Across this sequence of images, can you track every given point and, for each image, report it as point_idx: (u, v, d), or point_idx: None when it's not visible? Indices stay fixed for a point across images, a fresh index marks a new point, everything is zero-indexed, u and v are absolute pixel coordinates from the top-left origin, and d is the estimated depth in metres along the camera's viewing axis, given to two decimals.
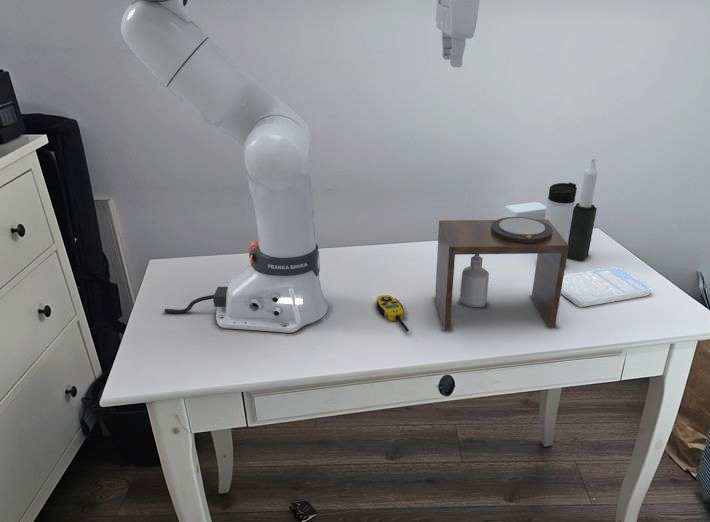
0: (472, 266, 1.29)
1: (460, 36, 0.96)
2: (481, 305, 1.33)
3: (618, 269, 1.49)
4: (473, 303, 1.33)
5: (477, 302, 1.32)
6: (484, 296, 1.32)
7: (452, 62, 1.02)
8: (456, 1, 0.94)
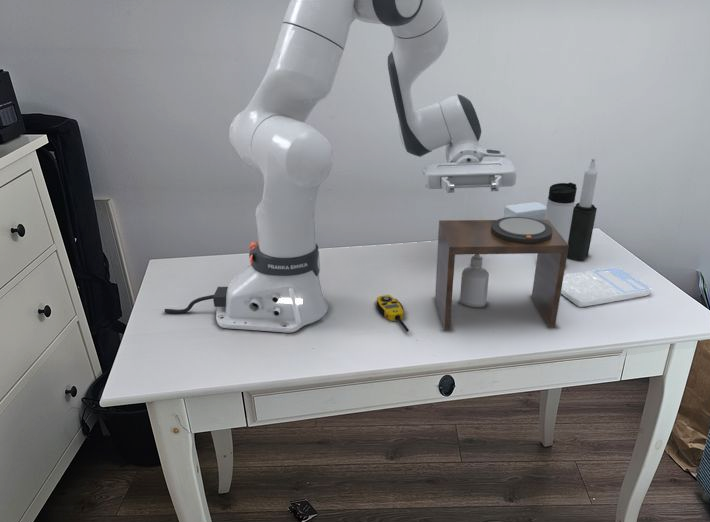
0: (472, 266, 1.29)
1: (514, 177, 1.36)
2: (481, 305, 1.33)
3: (618, 269, 1.49)
4: (473, 303, 1.33)
5: (477, 302, 1.32)
6: (484, 296, 1.32)
7: (498, 183, 1.32)
8: None
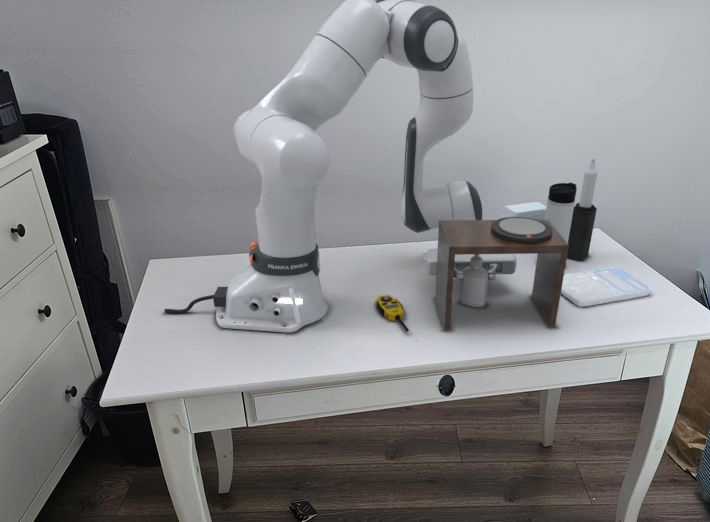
0: (472, 266, 1.29)
1: (515, 265, 1.35)
2: (481, 305, 1.33)
3: (618, 269, 1.49)
4: (473, 303, 1.33)
5: (477, 302, 1.32)
6: (484, 296, 1.32)
7: (495, 272, 1.31)
8: None
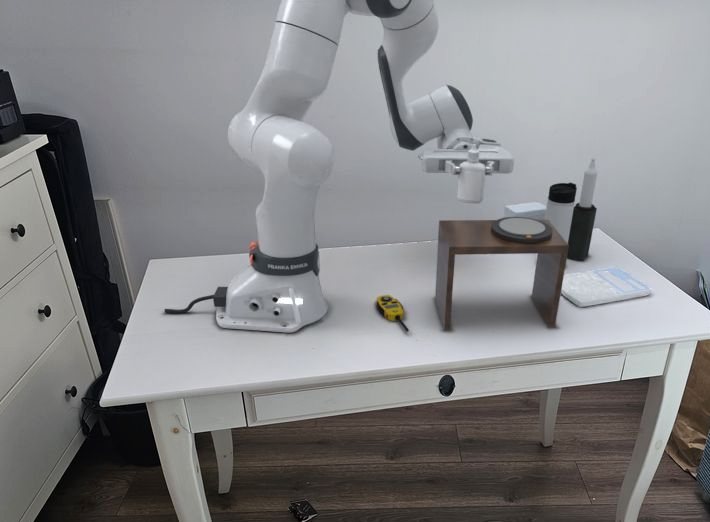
0: (469, 159, 1.29)
1: (512, 163, 1.35)
2: (478, 201, 1.32)
3: (618, 269, 1.49)
4: (470, 199, 1.32)
5: (474, 198, 1.32)
6: (481, 192, 1.31)
7: (492, 167, 1.31)
8: None
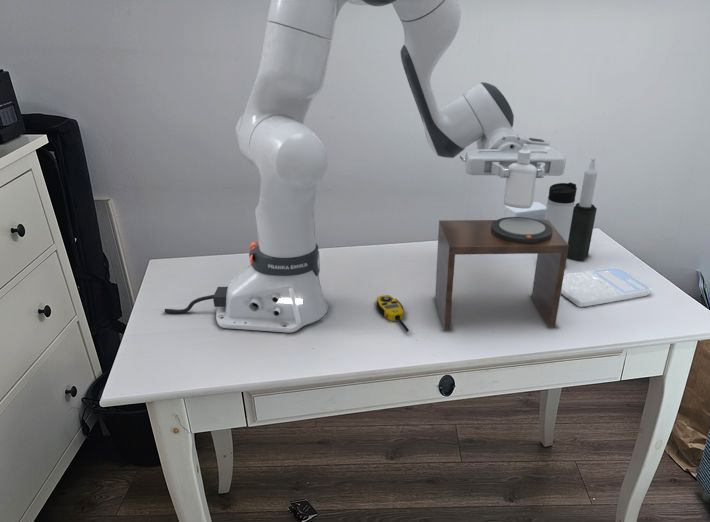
0: (519, 160, 1.18)
1: (564, 165, 1.24)
2: (528, 206, 1.22)
3: (618, 269, 1.49)
4: (519, 204, 1.22)
5: (523, 203, 1.21)
6: (531, 196, 1.21)
7: (543, 169, 1.20)
8: None
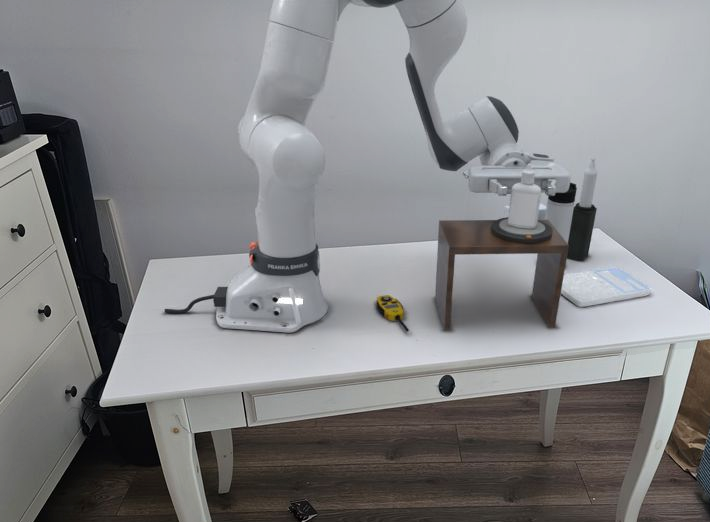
0: (523, 181, 1.16)
1: (569, 182, 1.22)
2: (532, 227, 1.20)
3: (618, 269, 1.49)
4: (523, 224, 1.20)
5: (527, 223, 1.19)
6: (535, 216, 1.19)
7: (554, 186, 1.18)
8: None
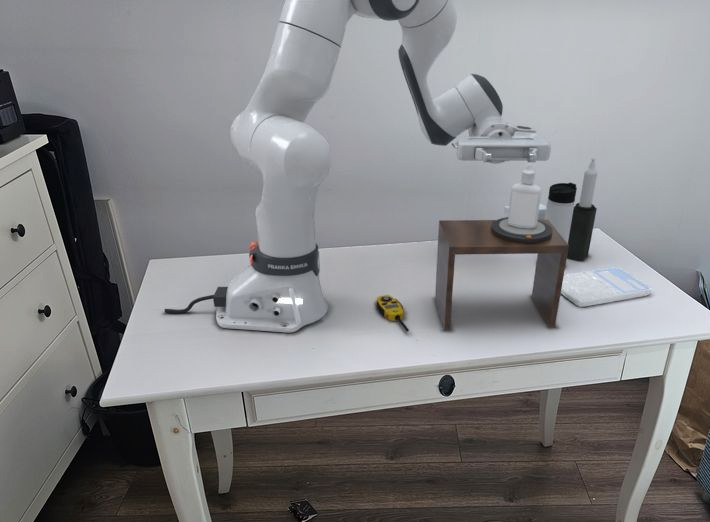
0: (523, 181, 1.16)
1: (549, 150, 1.32)
2: (532, 227, 1.20)
3: (618, 269, 1.49)
4: (523, 224, 1.20)
5: (527, 223, 1.19)
6: (535, 216, 1.19)
7: (535, 154, 1.28)
8: None
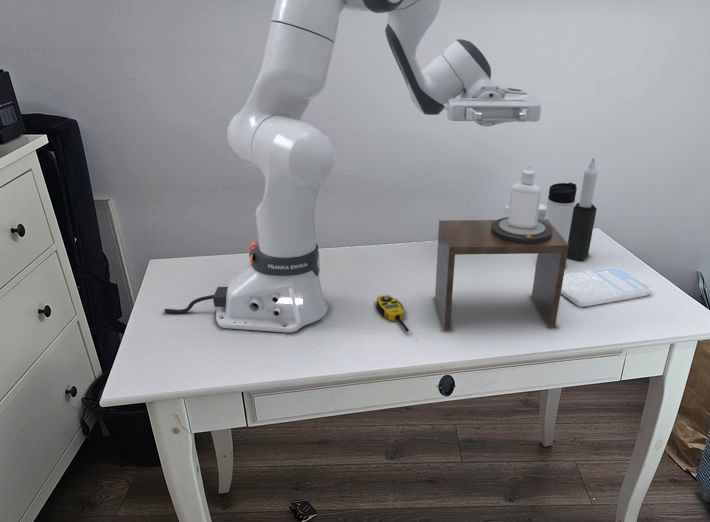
0: (523, 181, 1.16)
1: (539, 111, 1.33)
2: (532, 227, 1.20)
3: (618, 269, 1.49)
4: (523, 224, 1.20)
5: (527, 223, 1.19)
6: (535, 216, 1.19)
7: (525, 113, 1.29)
8: None
